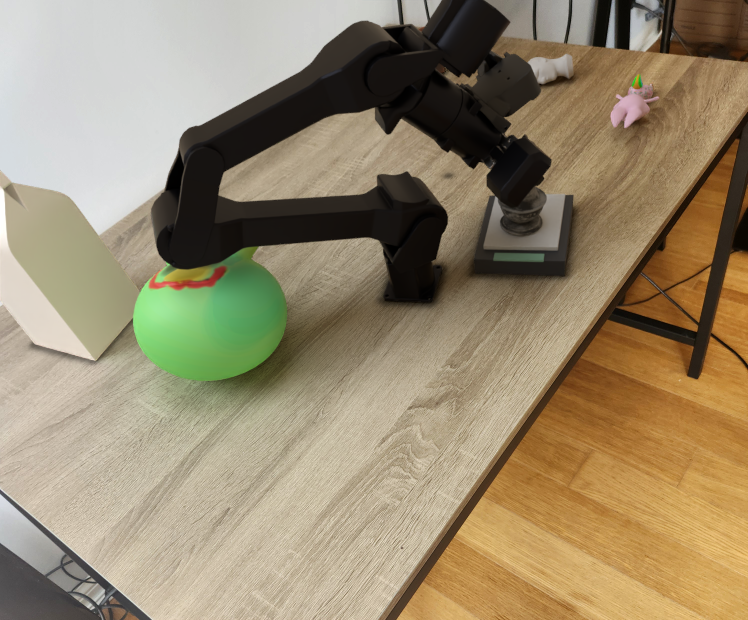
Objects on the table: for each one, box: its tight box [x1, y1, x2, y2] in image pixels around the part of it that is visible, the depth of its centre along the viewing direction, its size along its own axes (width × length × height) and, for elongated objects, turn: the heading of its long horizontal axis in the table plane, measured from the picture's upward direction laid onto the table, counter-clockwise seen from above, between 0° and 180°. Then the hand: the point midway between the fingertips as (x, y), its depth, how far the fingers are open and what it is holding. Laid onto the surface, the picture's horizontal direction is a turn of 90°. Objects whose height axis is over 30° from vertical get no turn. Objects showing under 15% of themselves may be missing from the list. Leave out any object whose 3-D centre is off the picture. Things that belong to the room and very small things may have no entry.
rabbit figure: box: [610, 73, 660, 129], centre depth 95 cm, size 6×6×15 cm
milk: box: [0, 169, 141, 362], centre depth 82 cm, size 12×12×26 cm
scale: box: [473, 193, 575, 277], centre depth 83 cm, size 13×11×3 cm
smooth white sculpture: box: [527, 53, 575, 85], centre depth 107 cm, size 4×8×5 cm
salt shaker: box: [498, 133, 547, 235], centre depth 77 cm, size 6×6×12 cm
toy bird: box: [132, 247, 288, 382], centre depth 76 cm, size 18×17×15 cm
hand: (533, 173), depth 77 cm, fingers closed on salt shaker, 3 cm apart
